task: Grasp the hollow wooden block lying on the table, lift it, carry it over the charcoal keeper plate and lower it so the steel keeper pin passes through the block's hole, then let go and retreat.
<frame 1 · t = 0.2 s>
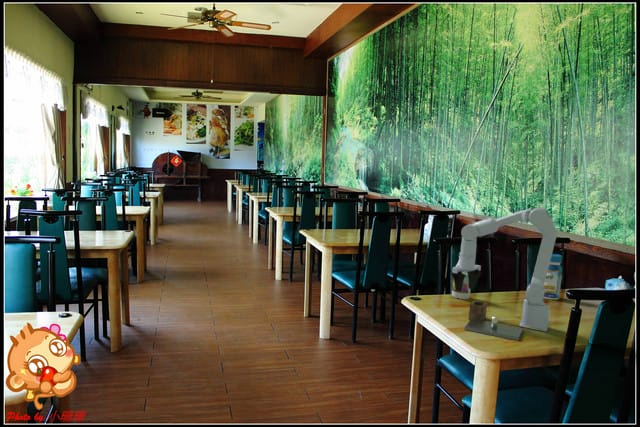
hand: (464, 289, 205), 10 cm above the table, tool pointing down, fingers open, 7 cm apart
beverage bottle: (549, 298, 243), on the table
keeper plate: (493, 330, 188), on the table
milk bottle: (460, 297, 233), on the table
hollow wooden block: (477, 318, 201), on the table
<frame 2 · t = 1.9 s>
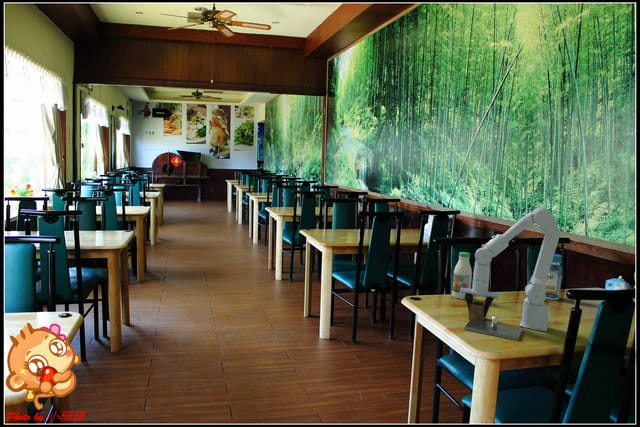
hand: (477, 314, 201), 2 cm above the table, tool pointing down, fingers closed on hollow wooden block, 5 cm apart
hollow wooden block: (477, 318, 201), on the table, touching gripper
everything else where it was.
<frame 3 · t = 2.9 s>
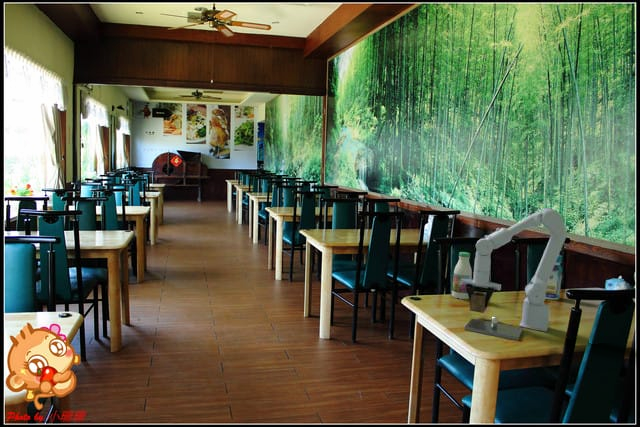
hand: (478, 305, 201), 5 cm above the table, tool pointing down, fingers closed on hollow wooden block, 5 cm apart
hollow wooden block: (478, 309, 201), point 4 cm above the table, touching gripper
everything else where it was.
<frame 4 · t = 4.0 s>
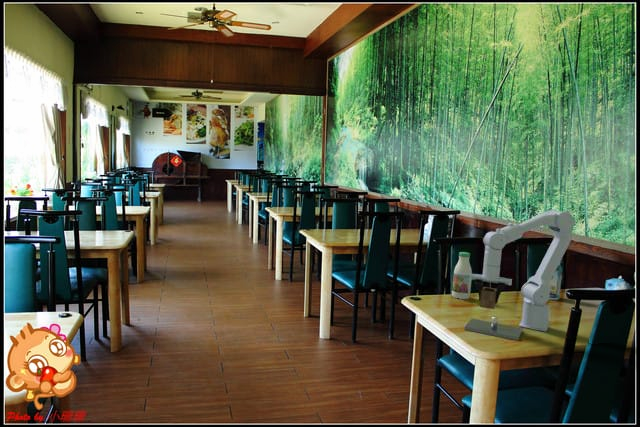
hand: (488, 301, 193), 9 cm above the table, tool pointing down, fingers closed on hollow wooden block, 5 cm apart
hollow wooden block: (487, 305, 193), point 7 cm above the table, touching gripper
everything else where it was.
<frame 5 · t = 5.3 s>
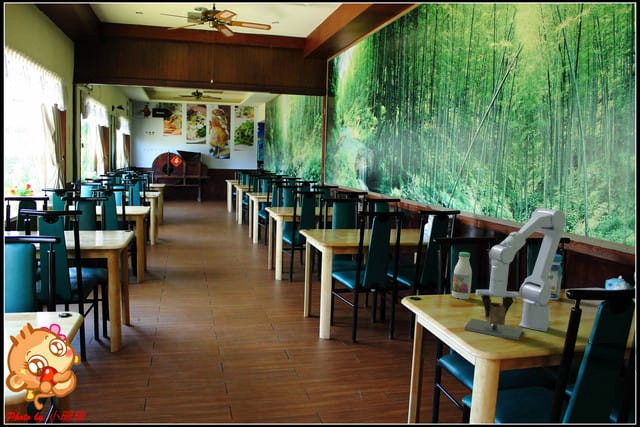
hand: (495, 317, 187), 5 cm above the table, tool pointing down, fingers closed on hollow wooden block, 5 cm apart
hollow wooden block: (494, 321, 188), point 3 cm above the table, touching gripper
everything else where it was.
when the fingers open (4 cm above the table, at t = 6.2 s): hollow wooden block stays where it is, resting on keeper plate.
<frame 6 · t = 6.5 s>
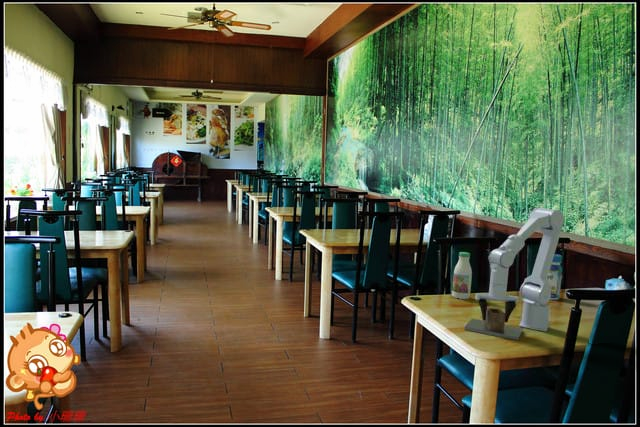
hand: (494, 320, 187), 4 cm above the table, tool pointing down, fingers open, 7 cm apart
hollow wooden block: (494, 327, 188), point 1 cm above the table, touching keeper plate
everything else where it was.
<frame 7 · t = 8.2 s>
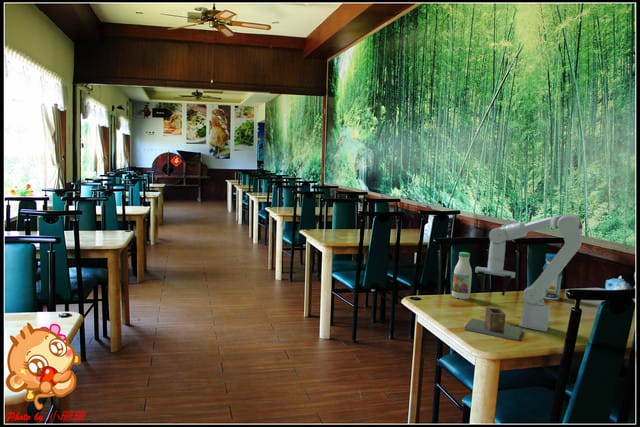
hand: (492, 293, 204), 9 cm above the table, tool pointing down, fingers open, 7 cm apart
nothing on the table moved.
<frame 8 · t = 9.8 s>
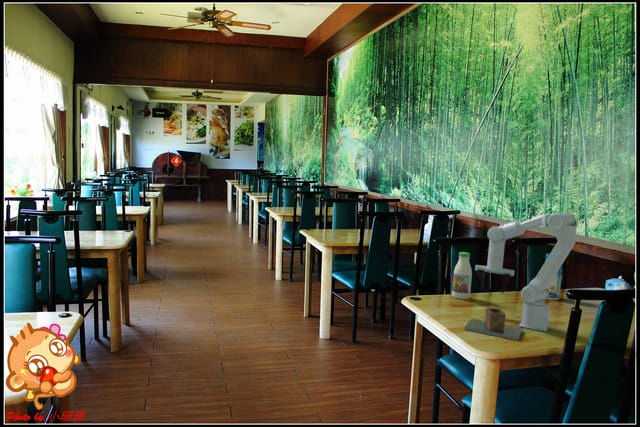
hand: (492, 291, 208), 9 cm above the table, tool pointing down, fingers open, 7 cm apart
nothing on the table moved.
at the end: hollow wooden block 0.1 cm off-centre on the keeper plate, point 1.2 cm above the keeper plate's base; hollow wooden block tilted 0°; the gripper is holding nothing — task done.
